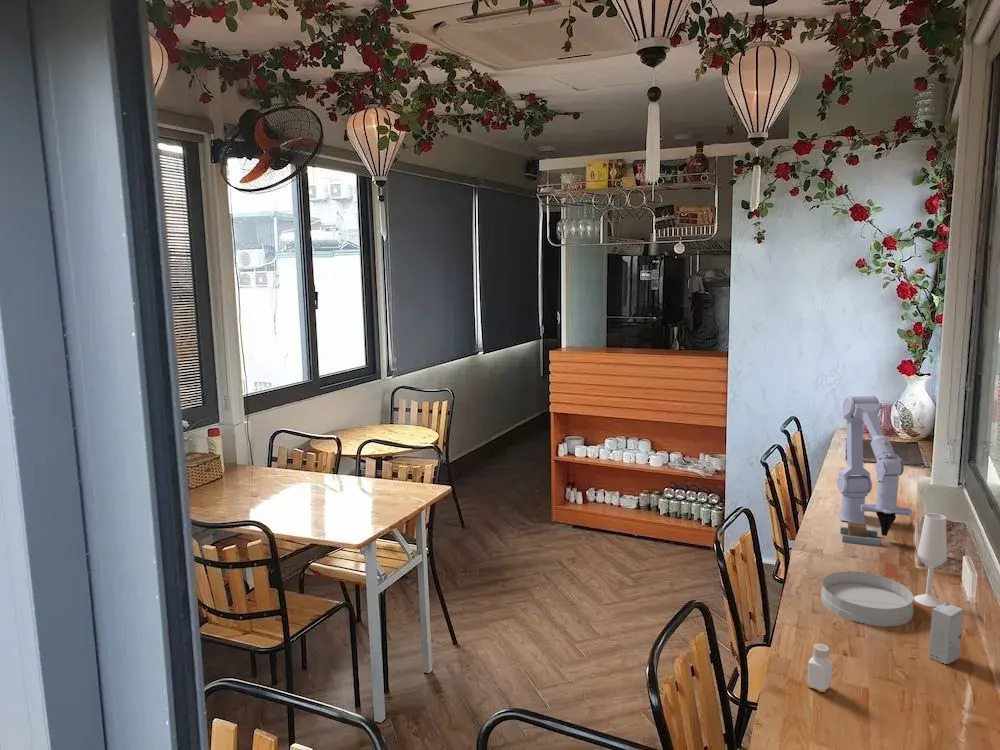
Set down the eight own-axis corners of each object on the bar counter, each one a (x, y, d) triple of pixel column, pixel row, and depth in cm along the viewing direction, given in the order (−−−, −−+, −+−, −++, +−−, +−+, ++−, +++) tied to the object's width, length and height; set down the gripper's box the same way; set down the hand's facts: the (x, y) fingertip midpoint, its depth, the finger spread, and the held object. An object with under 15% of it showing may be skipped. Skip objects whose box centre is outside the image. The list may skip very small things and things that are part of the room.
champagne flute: (945, 608, 195) (953, 522, 191) (916, 604, 197) (923, 519, 193) (939, 597, 201) (946, 513, 197) (911, 593, 203) (918, 510, 199)
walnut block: (847, 535, 244) (848, 521, 243) (863, 537, 243) (865, 522, 242) (848, 540, 240) (849, 525, 239) (865, 542, 239) (866, 527, 238)
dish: (901, 592, 204) (902, 575, 204) (923, 632, 184) (925, 613, 183) (815, 583, 210) (816, 567, 210) (827, 621, 189) (828, 603, 189)
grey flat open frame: (840, 532, 247) (840, 526, 246) (876, 536, 243) (877, 530, 243) (842, 541, 239) (842, 535, 239) (880, 545, 235) (880, 540, 235)
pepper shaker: (805, 687, 161) (808, 647, 159) (813, 679, 164) (815, 640, 162) (824, 695, 158) (827, 654, 156) (831, 687, 161) (834, 647, 159)
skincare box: (947, 666, 168) (951, 616, 166) (926, 657, 172) (931, 608, 170) (960, 657, 172) (965, 609, 170) (940, 649, 175) (944, 601, 173)
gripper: (863, 495, 235) (860, 536, 237) (915, 500, 230) (911, 541, 232) (861, 489, 241) (858, 528, 244) (911, 493, 236) (907, 533, 239)
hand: (884, 534), depth 238 cm, fingers closed
